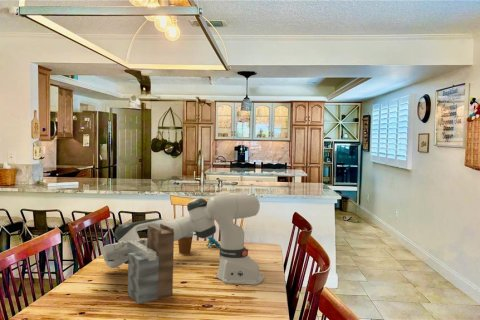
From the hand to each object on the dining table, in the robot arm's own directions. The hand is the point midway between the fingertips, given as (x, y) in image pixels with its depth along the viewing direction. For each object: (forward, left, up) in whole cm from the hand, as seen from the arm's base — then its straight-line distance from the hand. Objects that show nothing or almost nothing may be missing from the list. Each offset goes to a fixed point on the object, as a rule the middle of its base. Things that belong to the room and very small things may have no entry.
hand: (133, 242), depth 155 cm
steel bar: (-6, +4, -3) cm, 8 cm away
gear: (-9, -73, -20) cm, 77 cm away
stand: (-11, +3, -20) cm, 23 cm away
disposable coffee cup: (+2, -56, -20) cm, 60 cm away
